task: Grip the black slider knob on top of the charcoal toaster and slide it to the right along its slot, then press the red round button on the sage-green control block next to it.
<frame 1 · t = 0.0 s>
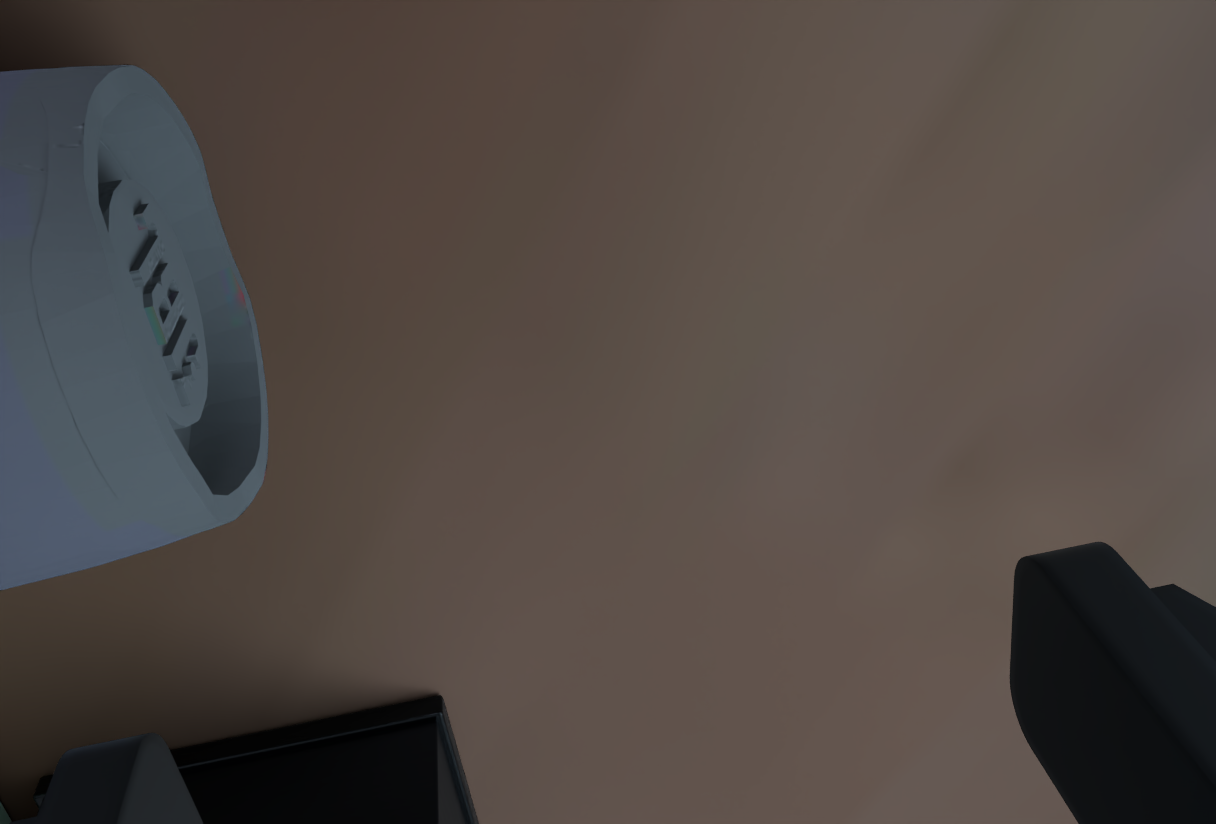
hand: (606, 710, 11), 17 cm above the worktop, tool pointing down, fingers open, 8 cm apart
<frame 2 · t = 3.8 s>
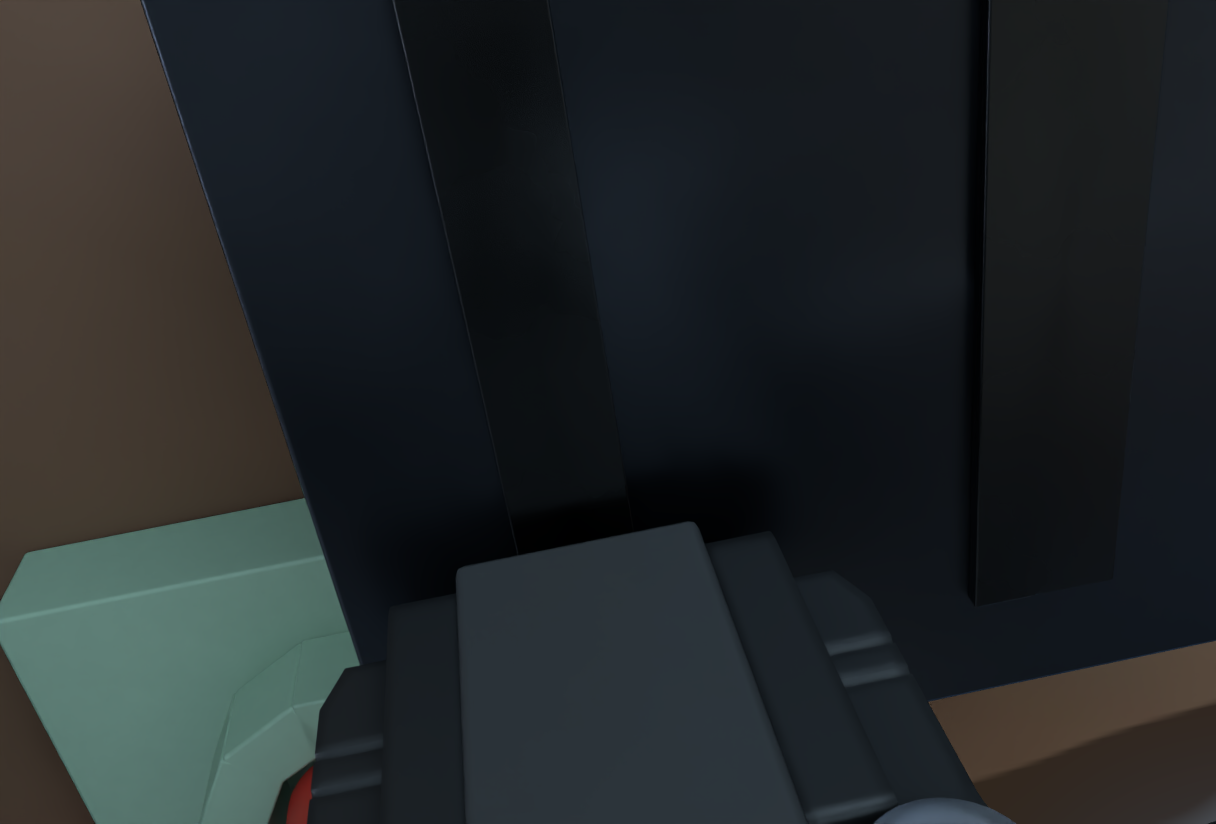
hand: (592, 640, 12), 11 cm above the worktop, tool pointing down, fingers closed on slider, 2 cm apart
toaster: (746, 51, 20), on the worktop
button block: (390, 679, 25), on the worktop
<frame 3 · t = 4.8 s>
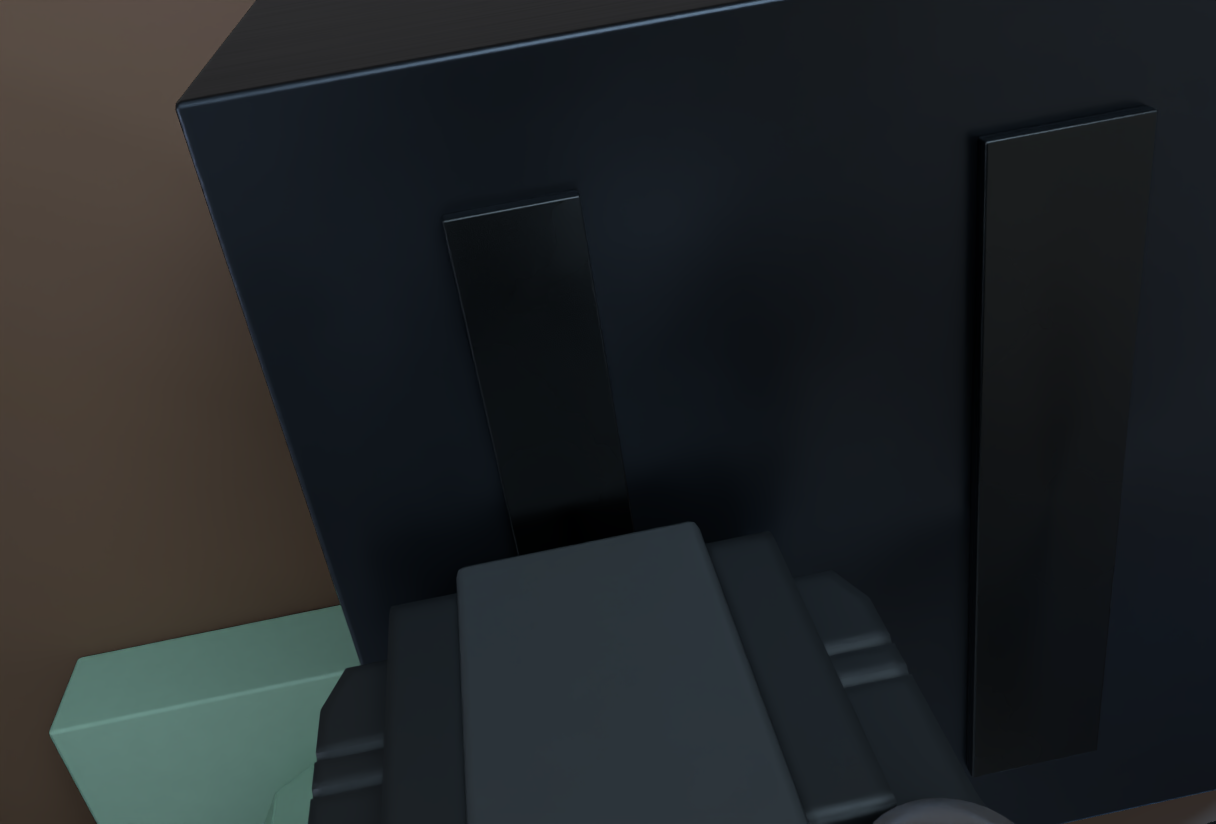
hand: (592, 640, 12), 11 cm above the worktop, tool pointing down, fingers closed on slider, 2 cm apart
toaster: (758, 200, 21), on the worktop
button block: (419, 766, 26), on the worktop
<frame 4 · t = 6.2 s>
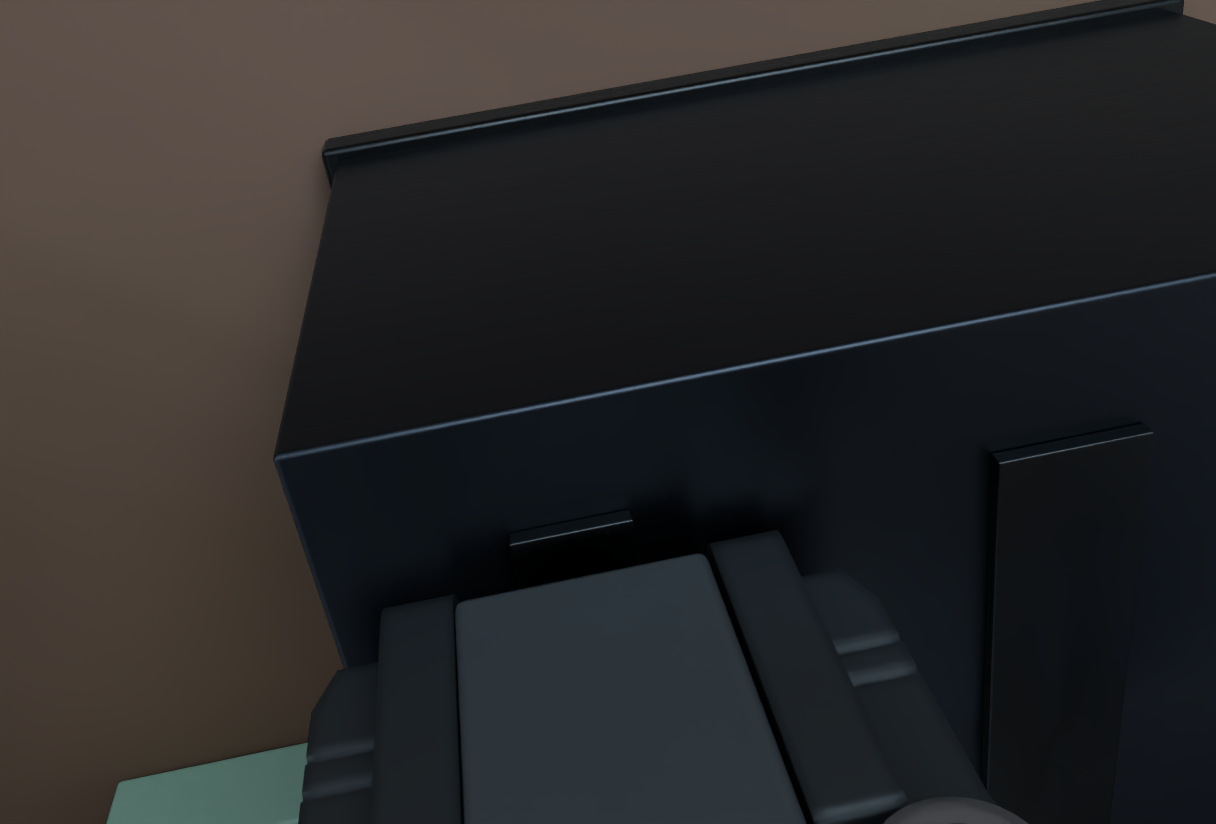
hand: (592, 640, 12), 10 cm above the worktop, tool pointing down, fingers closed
toaster: (773, 361, 22), on the worktop
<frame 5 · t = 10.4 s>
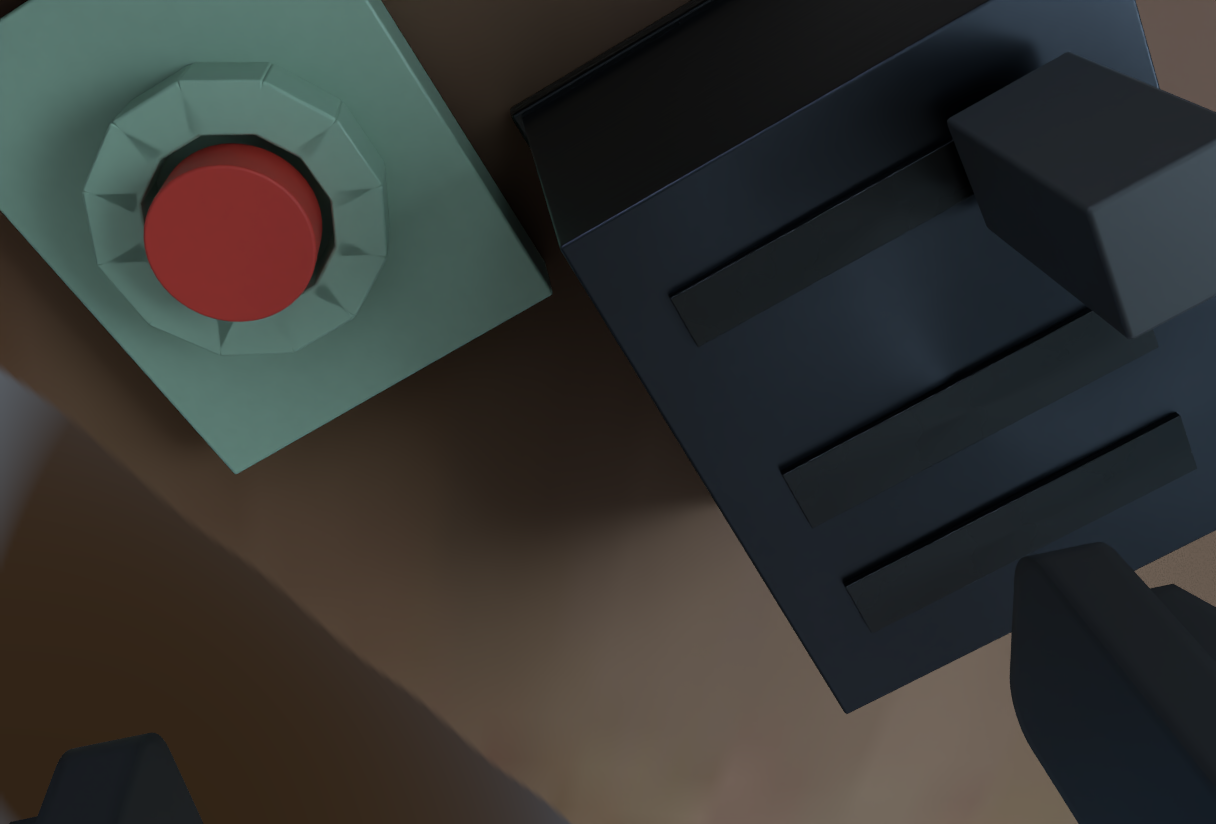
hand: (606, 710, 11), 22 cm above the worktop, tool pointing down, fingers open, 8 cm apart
toaster: (814, 225, 32), on the worktop
button: (236, 233, 25), point 4 cm above the worktop, slide at 0.1 cm
slider: (1097, 184, 18), point 13 cm above the worktop, slide at 5.7 cm
button block: (261, 173, 29), on the worktop
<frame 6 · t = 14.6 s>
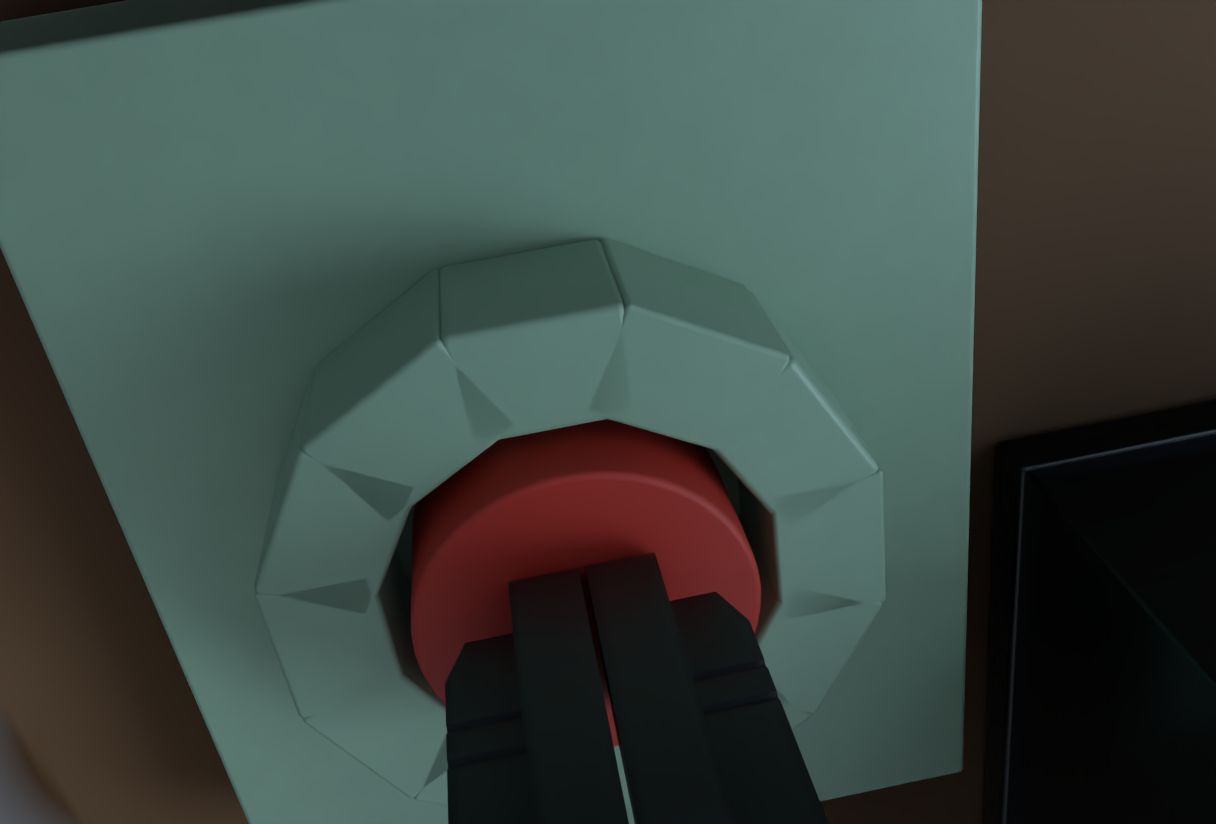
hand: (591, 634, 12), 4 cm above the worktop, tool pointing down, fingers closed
button: (580, 572, 12), point 4 cm above the worktop, slide at -0.8 cm, touching gripper
button block: (549, 414, 15), on the worktop
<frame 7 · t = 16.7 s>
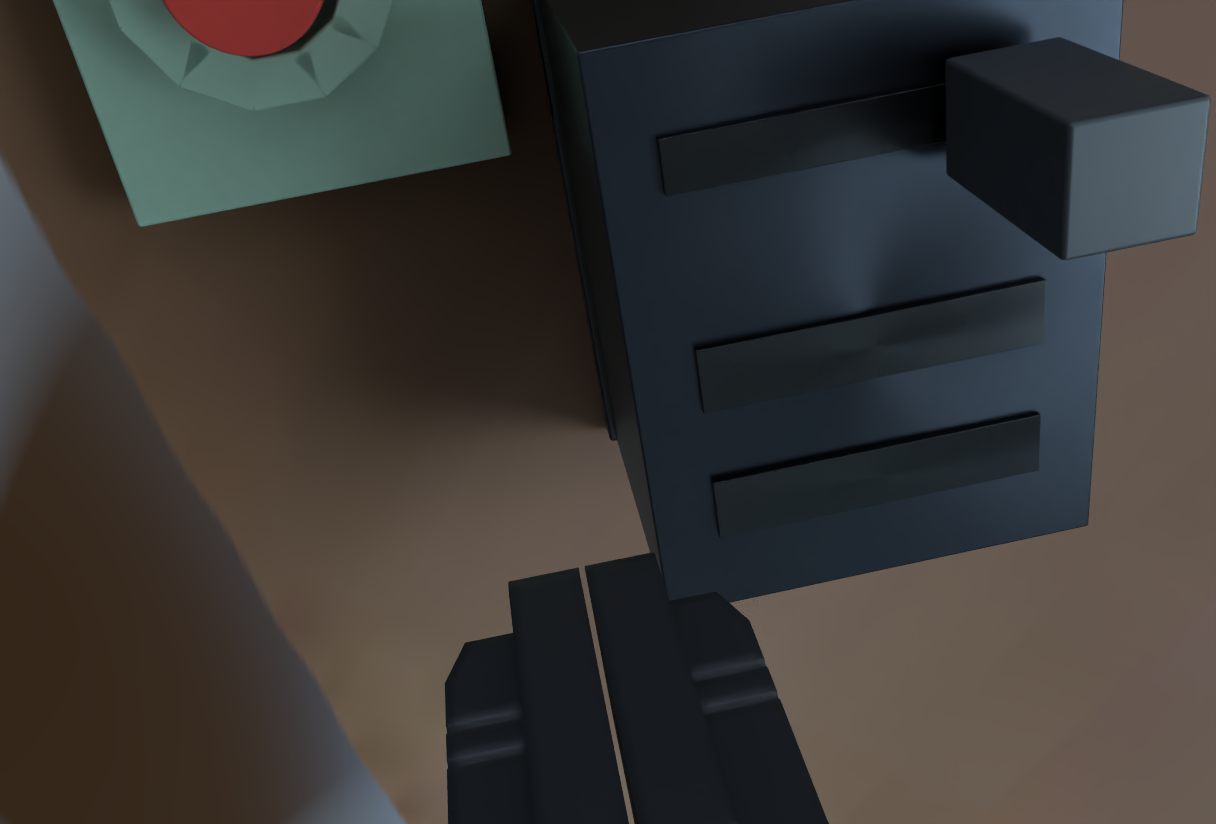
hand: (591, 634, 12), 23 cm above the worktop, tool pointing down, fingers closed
toaster: (756, 187, 34), on the worktop
slider: (1061, 140, 21), point 13 cm above the worktop, slide at 5.7 cm
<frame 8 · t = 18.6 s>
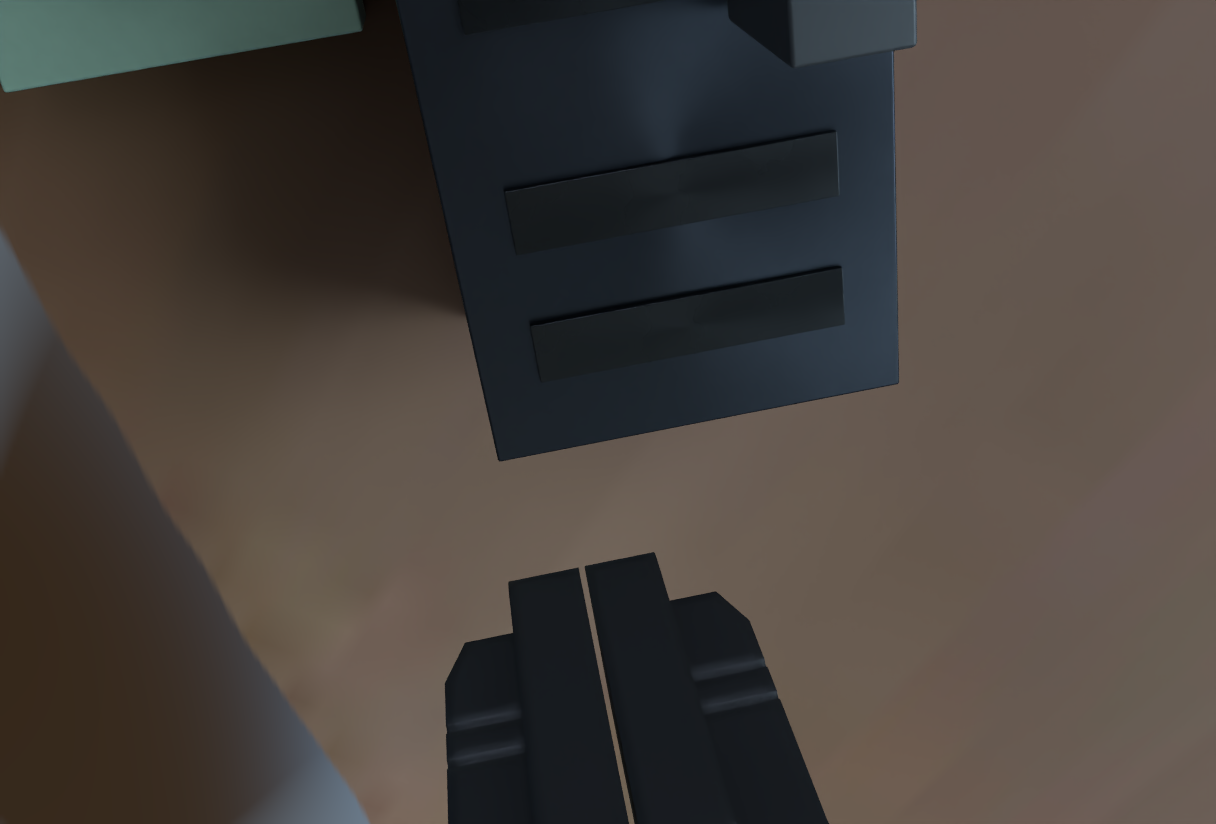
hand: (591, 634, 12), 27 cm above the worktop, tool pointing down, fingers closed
toaster: (611, 77, 36), on the worktop
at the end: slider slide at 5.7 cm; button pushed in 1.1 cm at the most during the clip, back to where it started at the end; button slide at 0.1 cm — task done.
